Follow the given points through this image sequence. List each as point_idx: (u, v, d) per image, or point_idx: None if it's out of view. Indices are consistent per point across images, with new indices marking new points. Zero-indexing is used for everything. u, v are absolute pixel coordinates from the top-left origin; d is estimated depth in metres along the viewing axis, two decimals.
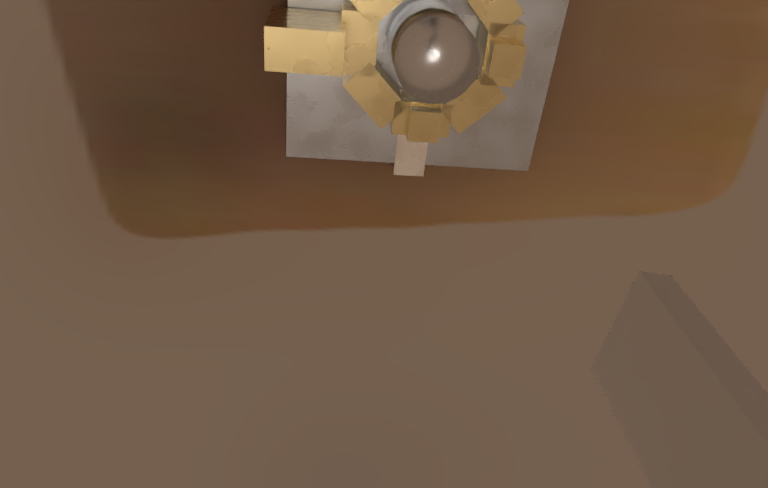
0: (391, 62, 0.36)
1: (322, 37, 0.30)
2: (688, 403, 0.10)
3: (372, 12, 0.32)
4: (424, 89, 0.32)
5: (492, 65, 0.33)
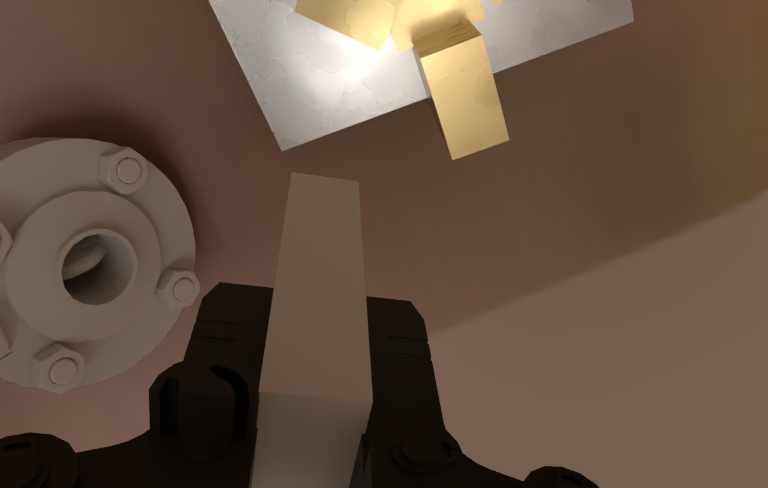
0: None
1: (438, 86, 0.21)
2: None
3: (383, 9, 0.22)
4: None
5: None
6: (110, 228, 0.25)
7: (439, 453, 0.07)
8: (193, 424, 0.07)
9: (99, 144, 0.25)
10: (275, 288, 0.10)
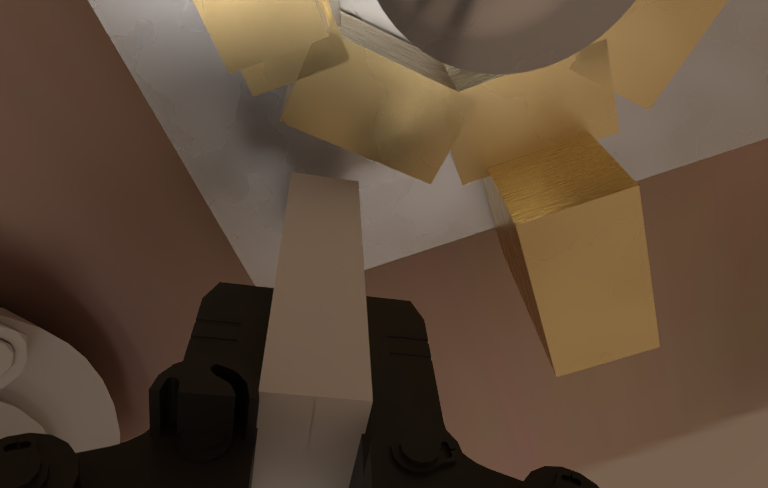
0: None
1: (545, 269, 0.11)
2: None
3: (440, 118, 0.12)
4: None
5: None
6: None
7: (439, 453, 0.07)
8: (193, 424, 0.07)
9: None
10: (275, 288, 0.10)
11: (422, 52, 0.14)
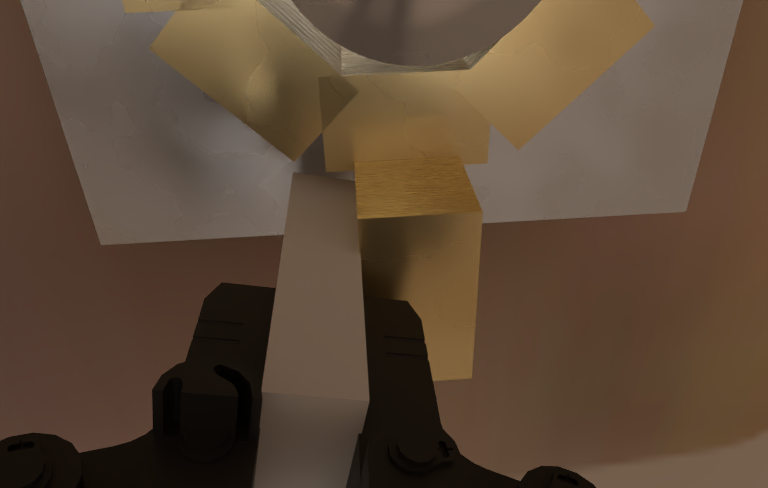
0: None
1: (378, 271, 0.11)
2: None
3: (319, 96, 0.12)
4: None
5: None
6: None
7: (436, 453, 0.07)
8: (196, 424, 0.07)
9: None
10: (277, 288, 0.10)
11: None
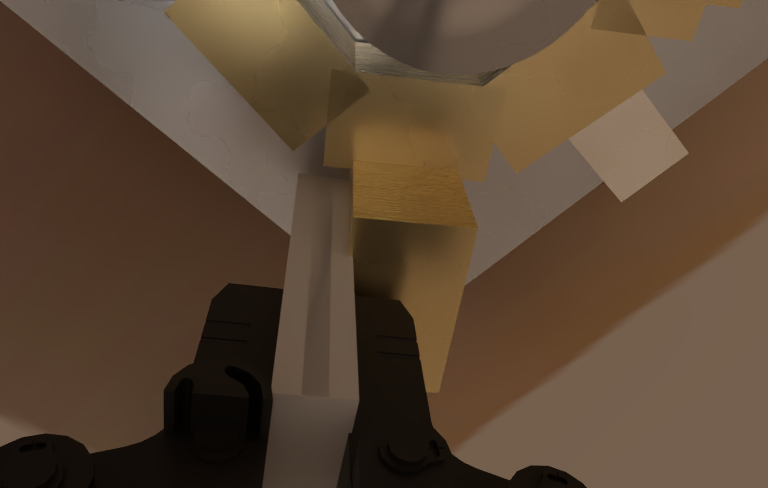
0: None
1: (363, 273, 0.11)
2: None
3: (328, 89, 0.12)
4: (510, 18, 0.09)
5: None
6: None
7: (427, 452, 0.07)
8: (207, 425, 0.07)
9: None
10: (285, 289, 0.10)
11: (340, 25, 0.13)
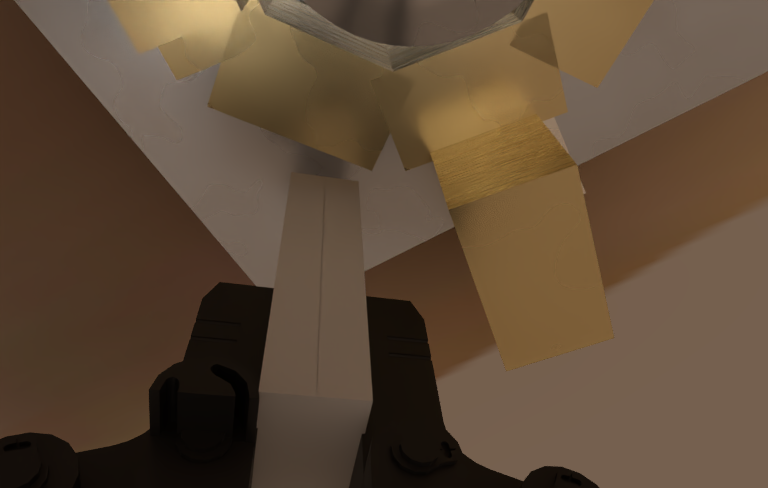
0: None
1: (484, 256, 0.11)
2: None
3: (377, 99, 0.11)
4: None
5: None
6: None
7: (439, 453, 0.07)
8: (193, 424, 0.07)
9: None
10: (275, 288, 0.10)
11: None
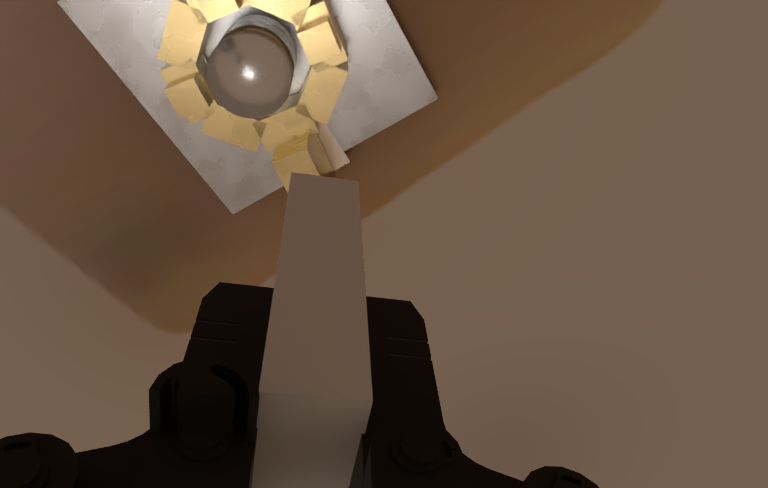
0: None
1: (285, 177, 0.35)
2: None
3: (254, 129, 0.36)
4: (258, 106, 0.33)
5: (226, 12, 0.31)
6: None
7: (439, 453, 0.07)
8: (193, 424, 0.07)
9: None
10: (275, 288, 0.10)
11: None
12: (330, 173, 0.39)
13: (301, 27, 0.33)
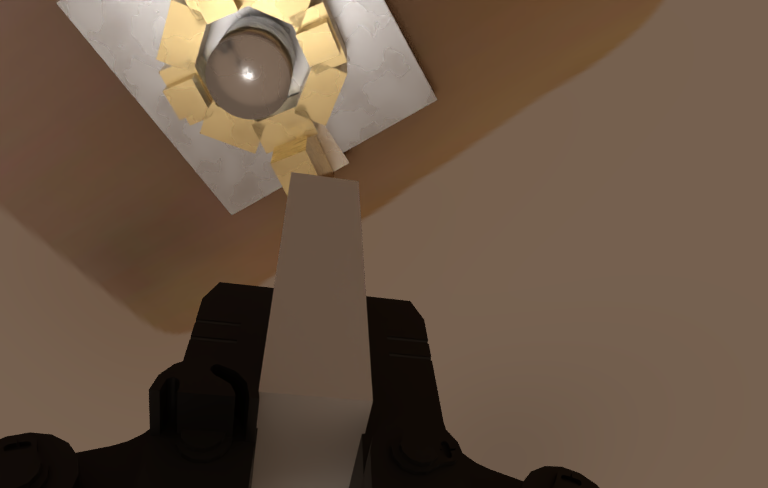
0: None
1: (284, 178, 0.35)
2: None
3: (254, 130, 0.36)
4: (257, 107, 0.33)
5: (225, 13, 0.31)
6: None
7: (439, 453, 0.07)
8: (193, 424, 0.07)
9: None
10: (275, 288, 0.10)
11: None
12: (329, 174, 0.39)
13: (300, 28, 0.33)
